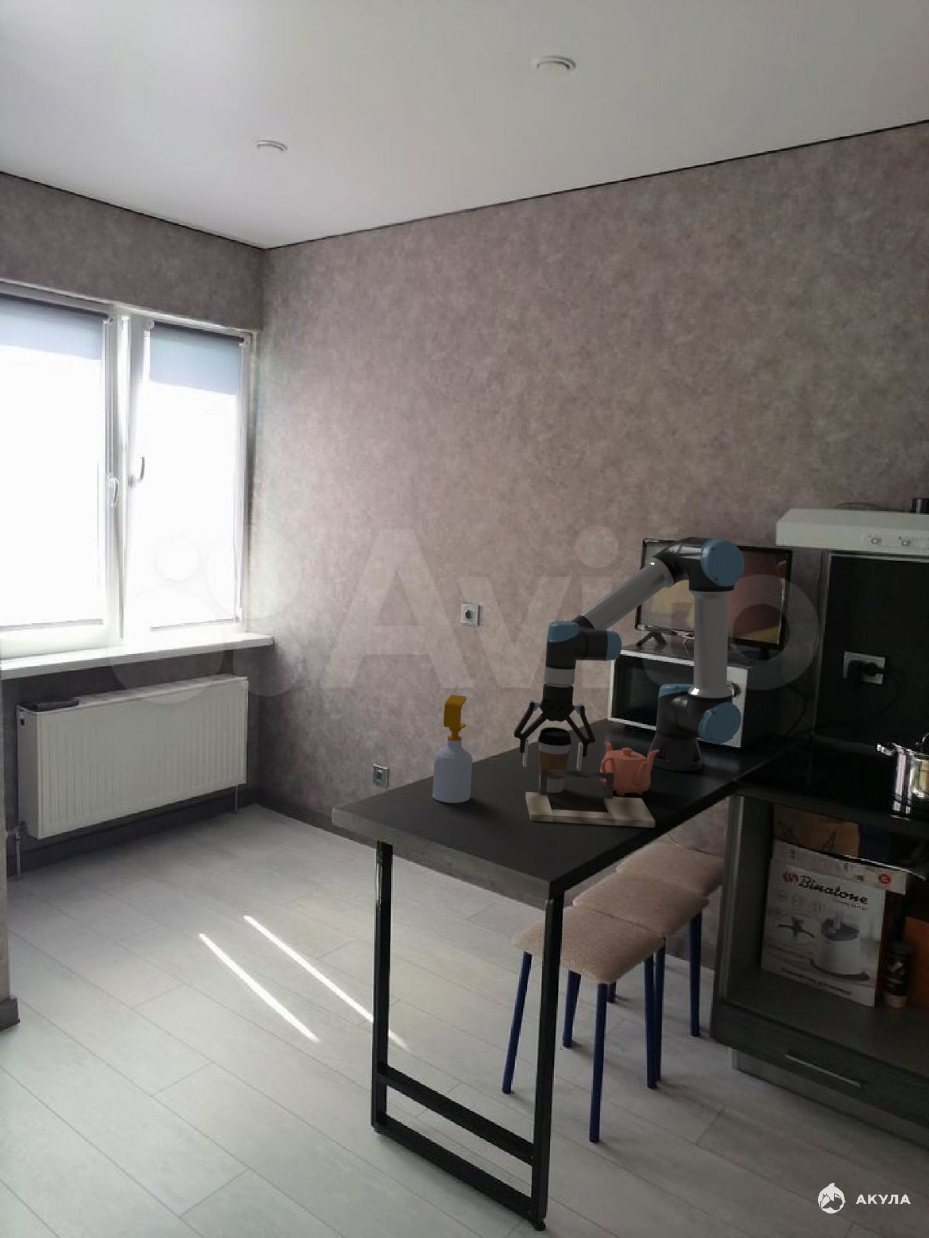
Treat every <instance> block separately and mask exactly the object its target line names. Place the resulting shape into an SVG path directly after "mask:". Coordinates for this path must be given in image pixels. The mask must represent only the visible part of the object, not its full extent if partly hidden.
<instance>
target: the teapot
mask: <svg viewBox="0 0 929 1238" xmlns="http://www.w3.org/2000/svg"><path fill="white" fill-rule="evenodd" d="M604 744H605V747H606V753H605V755H604V757H603V759H602V760H601V762H600V770H599V772H606V773H607V772H609V773H614V785H613V791H614V792H616V796H618V797H624V796H625V797H626V794H631V793H634V794H635V795H643V792H647V791H648V790H649V788H650V786H651V771H652V769H653V759H654V756H655V754H656V753H657V752H658V751H659V750H653V751H651V752H650V753H649V755H648V757H647V756H646V757H645V756H644V755H643V754H641V753H639V752H636V751H633V749H632V748H630V747H623V748H621V749H618V750H613V749H614V748H613V746H612V744H611V742H609V741H606V740H605V741H604ZM606 780H607V779H601V778H599V782H600V783H601V784H603V785H604V788H605V789H606Z"/></svg>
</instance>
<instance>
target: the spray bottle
mask: <svg viewBox="0 0 929 1238" xmlns="http://www.w3.org/2000/svg"><path fill="white" fill-rule="evenodd" d="M467 700H468V698H467V696H466V695H465V696H464V695H456V694H451V695H450V696H449V697H448V698H447V700H446V701H445V703H444V708H443V727H444V728H448V729H449V730H448V731H449V732H451V735H447V744H446V746H444V747H442V748H440V749H439V750H437V751H436V753H435V754H434V760H433V776H432V777H433V778H432V779H433V781H432V795H431V796H432V798H433V799H434V800H436V801H438V802H441V803H445V804H462V803H465V802H467V801H469V800H470V799H471V789H472V787H471V786H472V774H473V773H472V772H473V770H472V769H473V756H472V754H471V753H470V752H469V751H468V750H467V749H466V748H464V747H463V746H462V741H463V740H462V738H463V737H462V736H461V735H459V732H461V731H462V730H463V729H464V728H466V727H467V725H466V723H462V722H461V719H462V708H463V705H464V704H465V703H466V701H467Z"/></svg>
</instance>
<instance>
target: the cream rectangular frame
mask: <svg viewBox="0 0 929 1238" xmlns="http://www.w3.org/2000/svg"><path fill="white" fill-rule="evenodd" d="M547 775H548V776H565V777H566V778H567V777H571V778H587V779H600V778H601V779H607V780H606V786H605V787H606V788H605V795H604V796H603V803H604V806H605V808H606V810H607V812H605V811H604V812H603V811H602V812H601V811H583V810H568V809H552V807H551V804H550V803H551V802H550V801H549V800H550V799H549V797H548V796H549V795H548V794H547V793H548V792H546V789H547ZM613 785H614V773H609V772H607V773H606V772H600V771H588V770H586V771H585V770H581V771H578V770H571V769H570V770H567V769H566V770H553V769H541V776H540V789H539V790H538V791H539V792H531V791H525V801H526V806H527V811H528V815H529V820H530V821H531V822H549V823H568V824H569V823H570V824H582V825H583V824H586V825H600V826H601V825H603V826H605V825H606V826H621V827H639V828H655V827H656V820H655V818H654V817H653V815H652V813H651V812H650V811H649V809H648V807H647V806H646V804H645V802H644V800H643V799H642V798H641V797H626V796H625V797H624V796H613V795H614V790H613Z"/></svg>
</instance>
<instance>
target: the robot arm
mask: <svg viewBox="0 0 929 1238" xmlns="http://www.w3.org/2000/svg"><path fill="white" fill-rule="evenodd" d="M744 559H745V558H744V556H743V553H742V551H741V550H740V548H739V547H738V546H737V545H736V544H735V543H733V542H732V541H730V540H725V539H722V538H713V537H711V538H710V537H699V536H687V537H683V538H681V539H678V540H676V541H674V542H672V543H671V544H669V545H667V546H666V547H664V548H663V549H661V550H660V551H658V552H657V553H655V554H654V555H653V556H651V557H650V558H648V560H647V565H645V566H643V568H642V569H640V570H638V571H637V572H636V573H635V574H633V575H632V576H631V577H629V578H628V579H626V580H625V581H623V582H622V583H621V584H619V585H618V586H617V587H615V588H614V589H612V591H610V592H608V593H607V594H606V595H605V596H603V597H602V598H601V599H600V600H597V601H596V602H595V603H594V604H593V605H591V606H590V607H589V608H588V607H587V609H585V610H584V611H583V612H582V613H580V614H578V615H577V616H576V617H574V618H573V619H572V620H571V621H569V620H566V621H565V620H564V621H563V620H554V621H552V622H550V623H549V625H548V629H547V635H546V648H545V649H546V651H545V664H544V665H545V666H544V676H543V681H544V682H545V683H543V684H542V685H543V686H542V696H541V697H542V699H541V701H540V702H536V701H534V700H532V699H531V700H529V702H528V706H527V709H526V711H525V712H524V714H523V716H522V718H521V719H520V721H519V723H518V724H517V726H516V727H515V728H514V731H513V737H514V738H516V739H519V752H520V754H523V756H522V766H523V767H522V768H527V765H528V764H527V763H528V754H529V739H528V738H529V737H530V736H531V735H532V734H533V733H534V732H535V731H536V730H537V729H539V727H540V726H541V725H542V724H543V723H545V722H546V721H547V720H548V721H549V722H558V723H562V722H564V721H566V723H567V724H568V725H569V726H570V728H571V729H572V730H573V732H574V733H575V735H576V736H577V737H578V738H579V740H580V741H581V742H578V748H577V756H576V757H577V759H576V769H577V770H576V771H582V763H583V758H586V757H587V755H588V754H587V753H588V747H589V746H588V745H590V744H594V743H595V742H596V737H595V736H594V732H593V730H592V728H591V726H590V723H589V721H588V718H587V715H586V707H585V705H584V704H583V703H579V704H576V705H575V704H574V703H573V702H574V701H573V700H574V690H575V689H574V688H575V687H574V686H573V685H574V684H575V679H576V678H575V677H576V667H577V661H580V662H581V661H594V662H595V661H596V662H597V661H603V662H608V661H615V660H617V659H618V658H619V656H620V655H621V653H622V647H623V643H622V638H621V636H620V634H619V633H618V632H616V631H614V630H609V628H611V627H612V626H614V625H615V624H617V623H618V622H620V620H622V619H623V618H625V617H626V616H628V614H630V613H631V612H633V611H634V610H635V609H638V607H640V606H641V605H642V604H643V603H645V602H646V601H648V600H649V599H651V597H653V596H654V595H656V594H657V593H658V592H660V591H662V589H663V588H667V589H669V588H670V589H671V587H673V586H674V585H676V584H677V583H679V582H682V581H688V592H690V593H691V594H692V595H693V596H694V597H693V598H694V607H693V608H694V609H693V610H694V614H693V615H694V616H693V617H694V618H693V620H694V621H693V623H694V625H693V628H694V630H693V635H694V636H693V637H694V638H693V683H665V684H662V685H661V686H660V688H659V691H658V696H657V699H658V701H657V712H656V713H657V714H656V722H655V723H656V724H655V735H654V738H653V740H652V742H651V745H650V747H649V749H648V750H647V754H646V755H647V756H646V758H647V757H648V755H649V753H650V752H651V751H653V750H659V751H658V752H657V753H656V754H655V756H654V759H653V765H652V767H656V768H660V769H663V770H668V771H677V772H693V770H695V771H698V769H699V770H700V769H701V768H702V765H703V764H702V763H703V760H702V759H703V758H702V755H701V750H700V745H699V742H698V741H699V740H701V741H703V742H706V743H711V744H714V745H722V744H725V743H727V742H729V741H730V740H732V739H733V738H734V736H735V735H736V734H737V733H738V731H739V729H740V727H741V724H742V712H741V711H740V709H739V708H738V706H737V705H736V704H734V703H733V701H734V699H733V698H734V693H733V690H731V689H730V687H729V686H728V644H729V643H728V642H729V641H728V640H729V639H728V634H729V633H728V630H729V629H728V628H729V597H730V595H732V594H733V593H734V592H735V584H736V583H738V582H739V581H740V577H742V576H743V574H744V570H745V560H744ZM538 709H540V710H541V714H539V715H538V717H537V718H536V719H535V720H534V721H533V722H532V723H531V724H530V725H529V726H528V727H527V728H526V729H525V730H524V728H525V727H526V725H527V724H528V722H529V720H530V719H531V717H532V715H533V714H534V712H536V711H537V710H538ZM574 711H575V712H576V714H577V715H578V714H579V717H580V719H581V722H582V724H583V727H584V729H585V732H586V734H587V736H588V737H585V735H584V734H583V732H582V731H581V730H580V728H579V727H578V726H577V724H576V723H575V721H574V720H573V719H572V717H571V716H570V715H571V714H572V713H573V712H574ZM522 731H523V732H522ZM698 739H699V740H698Z"/></svg>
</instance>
